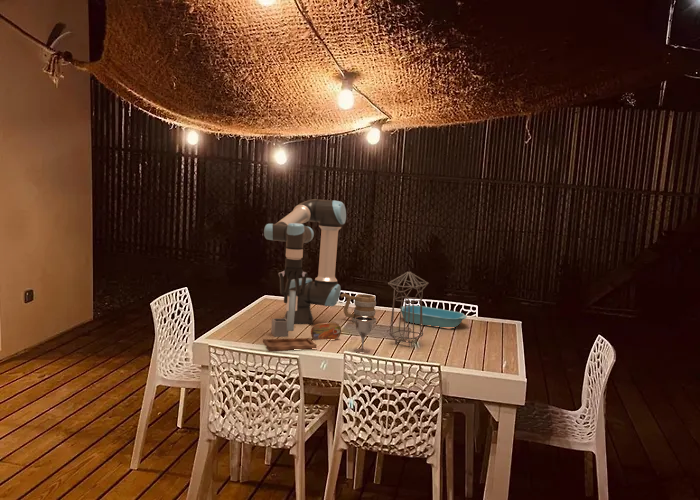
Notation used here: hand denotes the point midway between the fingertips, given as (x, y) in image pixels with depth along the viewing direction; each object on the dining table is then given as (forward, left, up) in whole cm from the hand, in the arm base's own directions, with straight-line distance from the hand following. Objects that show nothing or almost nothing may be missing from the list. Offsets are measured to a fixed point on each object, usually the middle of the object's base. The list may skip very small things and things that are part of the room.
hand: (291, 310), depth 296 cm
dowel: (0, 0, -9) cm, 9 cm away
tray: (0, 0, -17) cm, 17 cm away
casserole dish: (-90, -36, -17) cm, 99 cm away
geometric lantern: (-56, +2, -17) cm, 59 cm away
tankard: (-50, -45, -17) cm, 70 cm away
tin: (-20, -9, -17) cm, 28 cm away
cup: (0, -18, -17) cm, 25 cm away
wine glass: (-31, +11, -17) cm, 37 cm away
